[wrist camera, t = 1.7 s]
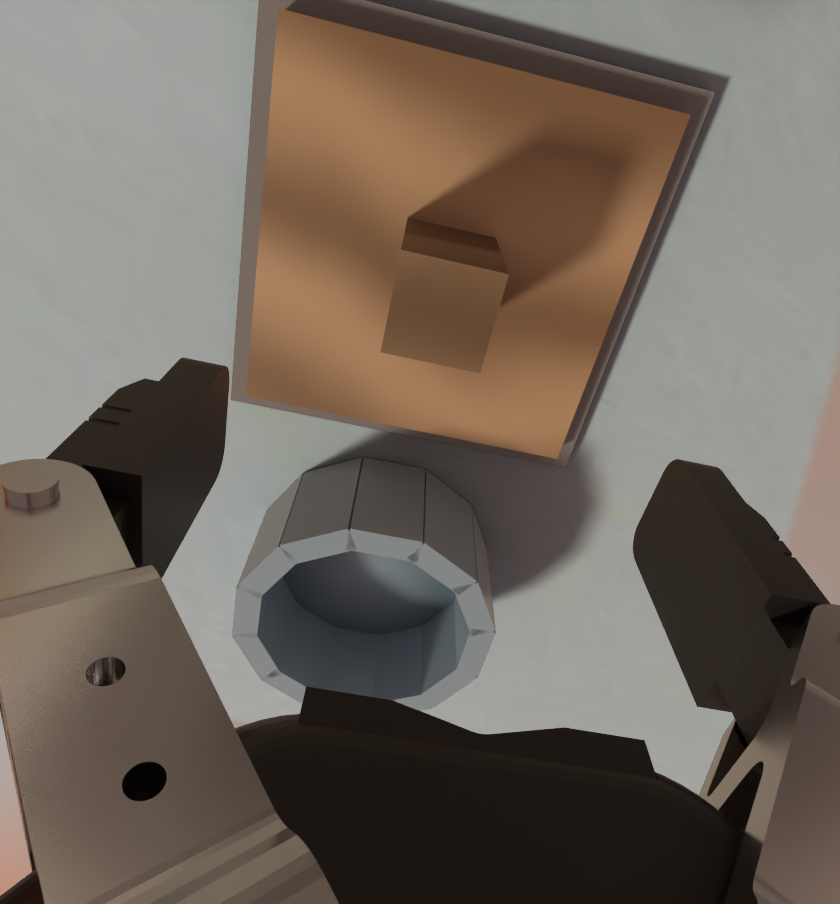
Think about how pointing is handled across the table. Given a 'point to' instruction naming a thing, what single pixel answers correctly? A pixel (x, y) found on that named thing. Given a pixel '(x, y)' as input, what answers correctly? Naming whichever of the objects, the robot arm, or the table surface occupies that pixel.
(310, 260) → the lid
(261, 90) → the mat
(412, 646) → the bowl
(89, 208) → the table surface
